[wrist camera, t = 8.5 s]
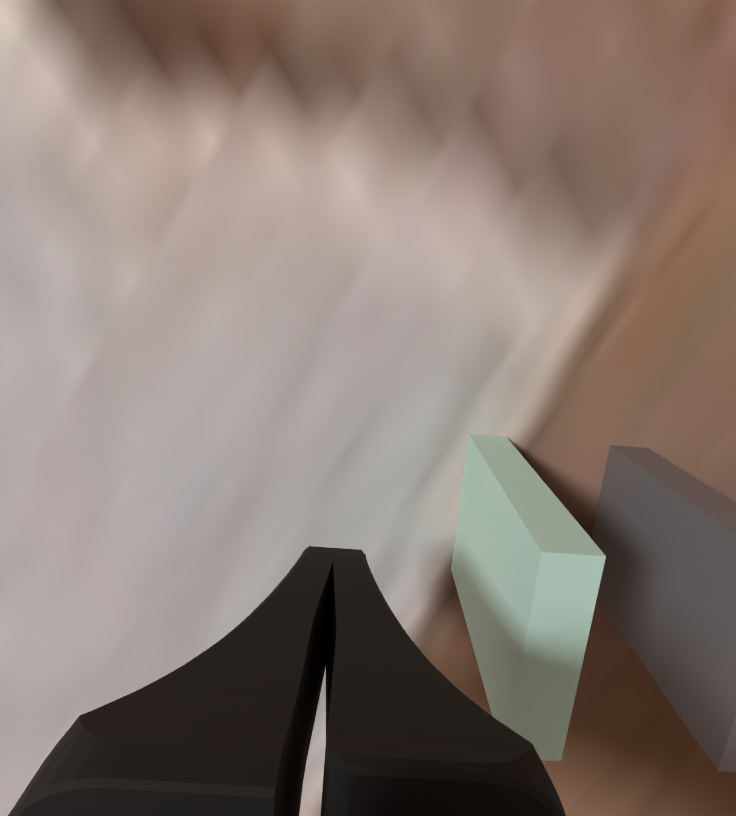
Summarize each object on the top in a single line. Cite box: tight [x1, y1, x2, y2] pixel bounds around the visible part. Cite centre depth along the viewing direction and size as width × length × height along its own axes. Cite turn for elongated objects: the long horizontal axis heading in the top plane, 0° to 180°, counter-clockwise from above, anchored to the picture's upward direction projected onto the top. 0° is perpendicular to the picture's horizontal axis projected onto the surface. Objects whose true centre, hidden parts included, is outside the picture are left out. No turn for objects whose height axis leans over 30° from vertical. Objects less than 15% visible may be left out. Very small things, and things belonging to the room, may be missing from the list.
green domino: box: [451, 434, 606, 761], centre depth 13 cm, size 1×5×7 cm, turn 176°
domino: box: [591, 445, 736, 772], centre depth 14 cm, size 1×5×7 cm, turn 175°
